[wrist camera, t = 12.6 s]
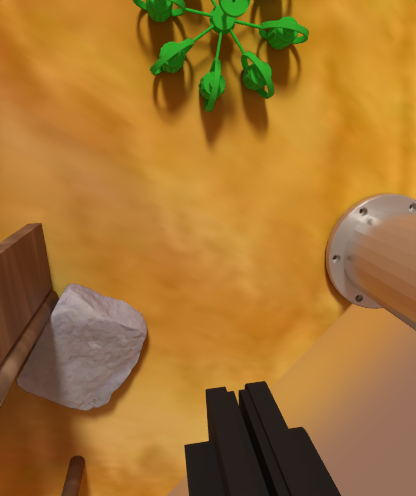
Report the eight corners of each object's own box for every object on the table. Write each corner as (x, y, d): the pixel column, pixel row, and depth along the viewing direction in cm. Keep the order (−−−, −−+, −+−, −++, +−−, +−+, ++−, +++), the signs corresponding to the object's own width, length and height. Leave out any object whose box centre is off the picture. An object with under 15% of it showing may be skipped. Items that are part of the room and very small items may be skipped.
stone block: (152, 305, 43) (63, 273, 38) (161, 330, 38) (61, 297, 34) (104, 390, 45) (15, 369, 41) (107, 422, 41) (7, 402, 36)
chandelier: (97, -4, 33) (83, -40, 26) (241, -114, 32) (264, -180, 26) (199, 146, 37) (210, 147, 31) (328, 51, 37) (367, 31, 30)
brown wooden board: (45, 222, 37) (-28, 279, 22) (87, 466, 44) (55, 636, 29) (23, 224, 37) (-68, 283, 21) (69, 469, 44) (26, 641, 29)
